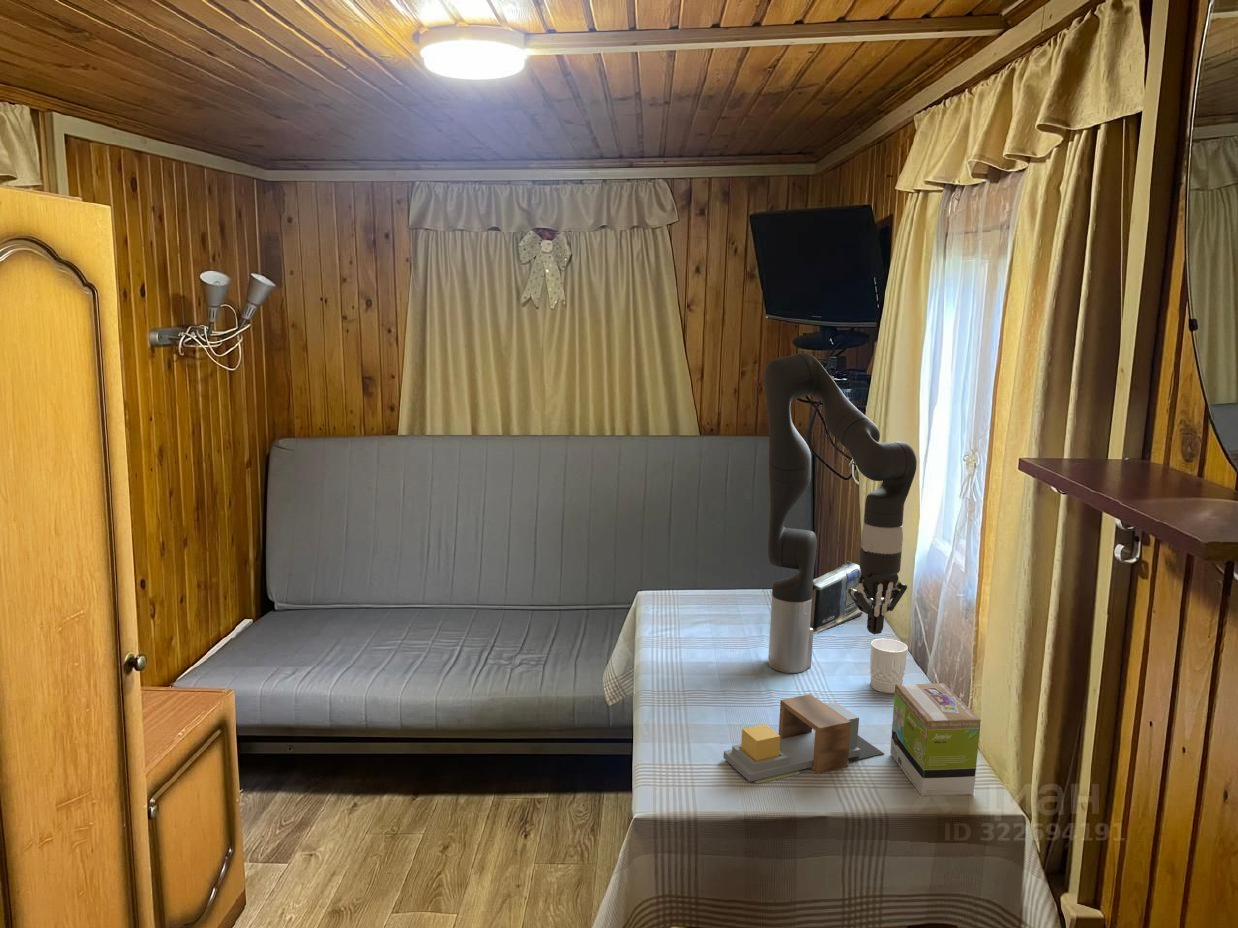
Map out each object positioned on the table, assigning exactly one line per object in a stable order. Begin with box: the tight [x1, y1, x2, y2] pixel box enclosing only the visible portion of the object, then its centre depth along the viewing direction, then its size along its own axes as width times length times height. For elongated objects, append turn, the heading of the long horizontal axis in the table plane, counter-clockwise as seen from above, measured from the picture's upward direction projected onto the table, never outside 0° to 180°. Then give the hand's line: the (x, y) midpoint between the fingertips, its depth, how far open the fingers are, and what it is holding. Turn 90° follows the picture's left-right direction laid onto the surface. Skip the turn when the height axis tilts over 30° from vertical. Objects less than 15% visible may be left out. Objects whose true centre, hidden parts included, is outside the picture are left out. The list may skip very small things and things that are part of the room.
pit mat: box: [848, 735, 885, 763], centre depth 172 cm, size 8×10×1 cm
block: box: [740, 723, 780, 762], centre depth 163 cm, size 5×5×5 cm
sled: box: [722, 701, 860, 782], centre depth 166 cm, size 24×9×7 cm, turn 114°
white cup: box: [869, 638, 909, 694], centre depth 198 cm, size 8×8×10 cm
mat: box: [753, 770, 800, 785], centre depth 164 cm, size 9×10×1 cm
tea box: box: [889, 682, 982, 797], centre depth 161 cm, size 15×10×15 cm, turn 5°
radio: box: [810, 560, 864, 636], centre depth 238 cm, size 23×9×15 cm, turn 127°
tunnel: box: [778, 694, 851, 775], centre depth 168 cm, size 7×12×9 cm, turn 24°
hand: (874, 632), depth 171 cm, fingers closed
